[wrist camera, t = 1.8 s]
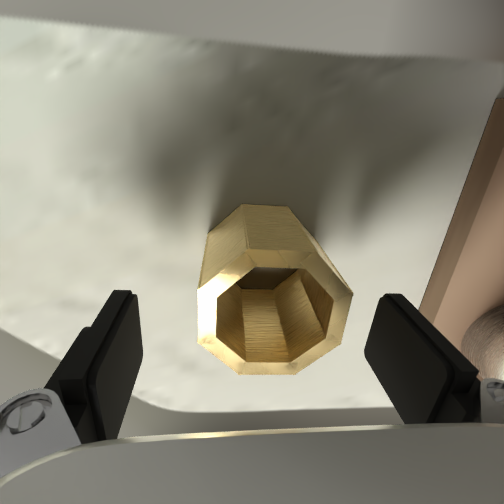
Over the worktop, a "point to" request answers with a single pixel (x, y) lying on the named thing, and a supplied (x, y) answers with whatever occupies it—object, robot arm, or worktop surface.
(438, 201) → the worktop surface
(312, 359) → the brass coupling
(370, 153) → the worktop surface
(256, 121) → the worktop surface
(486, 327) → the pair of light bulbs
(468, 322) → the pipe board
